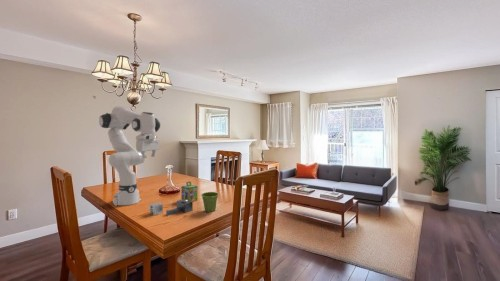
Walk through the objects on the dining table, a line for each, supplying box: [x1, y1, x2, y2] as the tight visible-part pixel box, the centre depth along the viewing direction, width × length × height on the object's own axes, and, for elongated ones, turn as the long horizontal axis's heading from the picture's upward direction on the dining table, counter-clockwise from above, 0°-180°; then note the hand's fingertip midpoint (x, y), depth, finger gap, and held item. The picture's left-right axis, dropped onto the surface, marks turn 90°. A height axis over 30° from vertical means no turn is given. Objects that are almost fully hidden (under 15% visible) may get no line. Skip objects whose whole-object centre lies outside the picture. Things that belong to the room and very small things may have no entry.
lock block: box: [149, 202, 164, 216], centre depth 155 cm, size 6×6×6 cm
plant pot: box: [200, 191, 220, 213], centre depth 160 cm, size 12×12×11 cm
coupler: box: [165, 199, 194, 216], centre depth 158 cm, size 10×16×7 cm, turn 139°
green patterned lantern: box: [180, 180, 198, 202], centre depth 183 cm, size 9×9×15 cm
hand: (148, 157), depth 155 cm, fingers open, 8 cm apart
